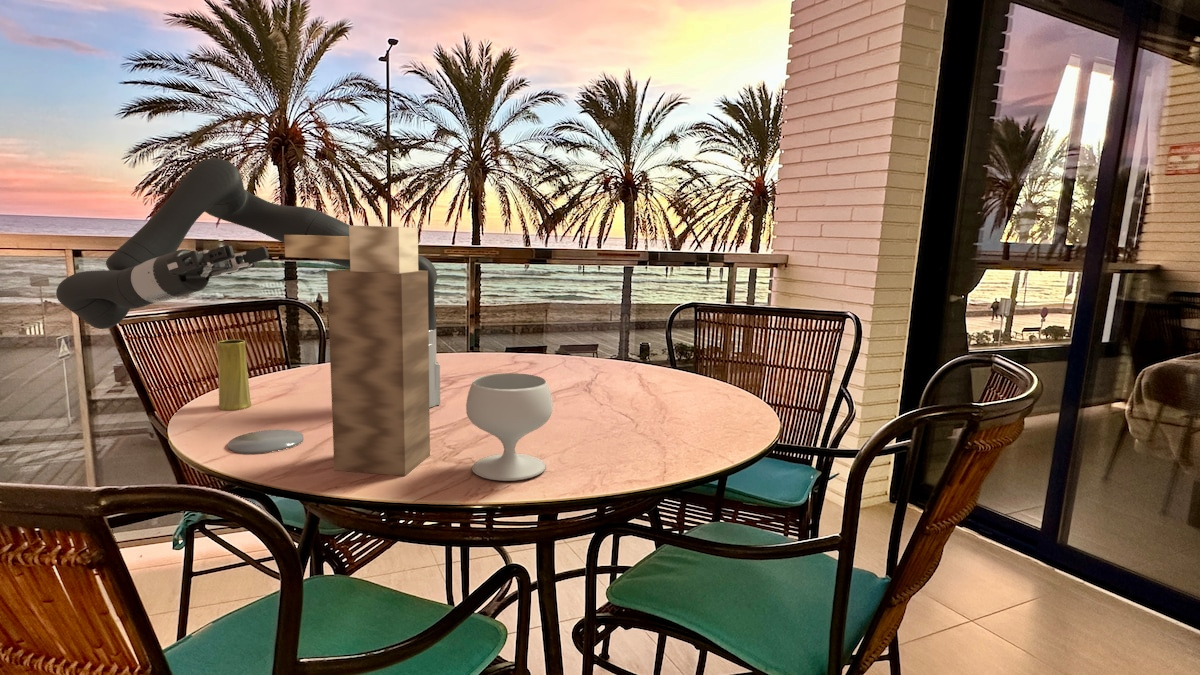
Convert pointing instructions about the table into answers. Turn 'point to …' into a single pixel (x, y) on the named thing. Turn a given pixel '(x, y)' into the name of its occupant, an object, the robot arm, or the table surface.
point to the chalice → (509, 421)
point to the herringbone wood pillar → (379, 370)
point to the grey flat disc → (265, 441)
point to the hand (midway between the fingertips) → (250, 251)
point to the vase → (233, 375)
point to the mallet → (362, 248)
